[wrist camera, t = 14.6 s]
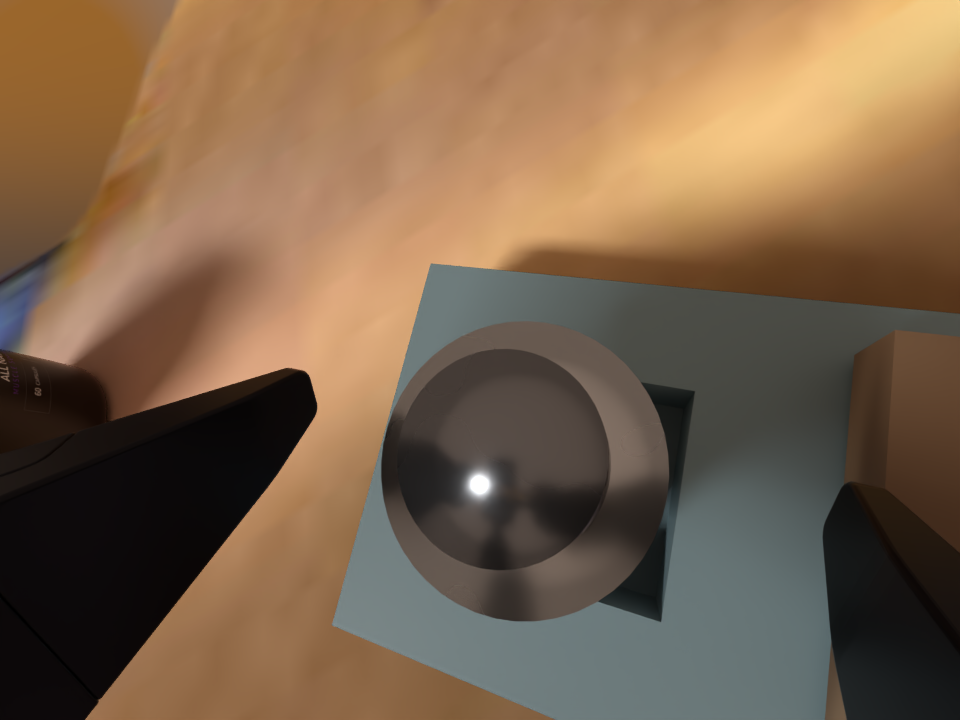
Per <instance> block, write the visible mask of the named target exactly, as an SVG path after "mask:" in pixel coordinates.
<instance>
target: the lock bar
mask: <svg viewBox="0 0 960 720" xmlns="http://www.w3.org/2000/svg"><path fill="white" fill-rule="evenodd" d="M850 481H854V482H858V483H863V484H868V485H873V486H878V487H882V488H884V489H886V490H888V491H889V492H890V493H892V494H893V495H894V496H895V497H896V498H897V499H899V500H900V501H901V502H902V503H903V504H904V505H905V506H907V507H908V508H909V509H910V510H911V511H912V512H914V513H915V514H916V515H917V516H918V517H919V518H920V519H922V520H923V521H924V522H925V523H926V524H927V525H929V526H930V527H931V528H932V529H933V530H934V531H935V532H937V533H938V534H939V535H940V536H941V537H942V538H944V539H945V540H946V541H947V542H948V543H949V544H950V545H952V546H953V547H954V548H955V549H956V550H957V551H959V552H960V337H957V336H948V335H938V334H929V333H920V332H910V331H901V330H894V331H893V332H891V333H889V334H888V335H886V336H884V337H883V338H881V339H880V340H878V341H876V342H875V343H873V344H871V345H870V346H868V347H867V348H865V349H863V350H862V351H860V352H859V353H857V354H855V355H854V365H853V378H852V390H851V402H850V415H849V427H848V439H847V452H846V464H845V476H844V484H845V483H847V482H850ZM825 720H847V719H846V714H845V710H844V705H843V700H842V695H841V691H840V686H839V681H838V677H837V672H836V667H835V661H834V656H833V650H832V643H831V649H830V662H829V674H828V686H827V699H826V711H825Z"/></svg>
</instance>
